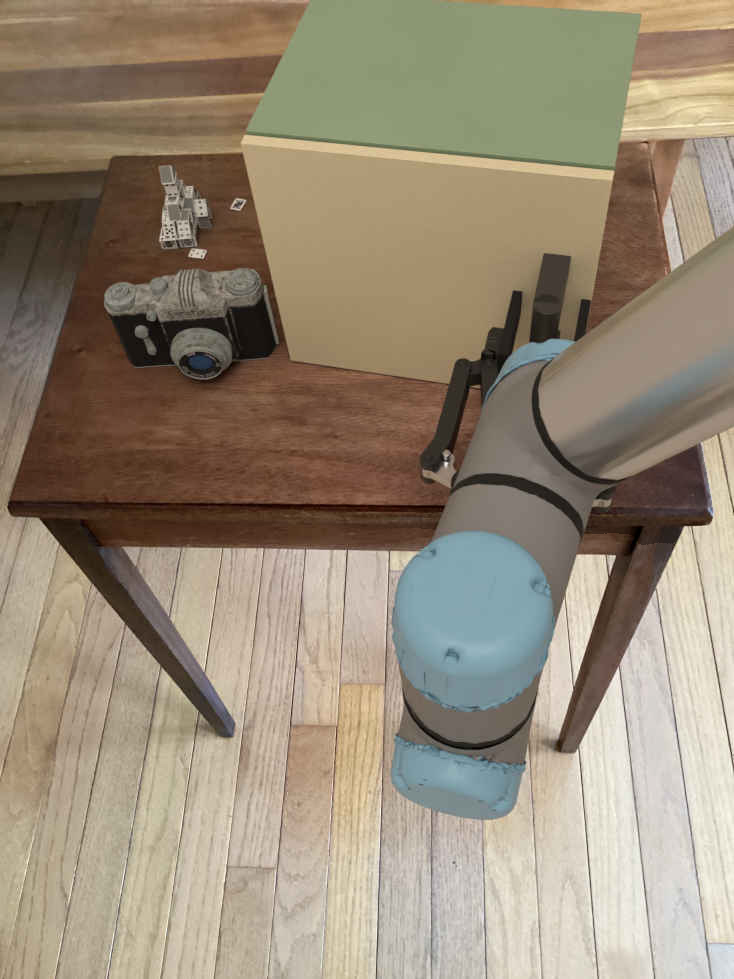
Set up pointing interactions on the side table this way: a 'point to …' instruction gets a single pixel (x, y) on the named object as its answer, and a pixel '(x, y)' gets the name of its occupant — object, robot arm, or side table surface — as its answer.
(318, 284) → the cupboard door
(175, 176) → the house of cards
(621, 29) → the cupboard
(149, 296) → the camera
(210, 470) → the side table surface
